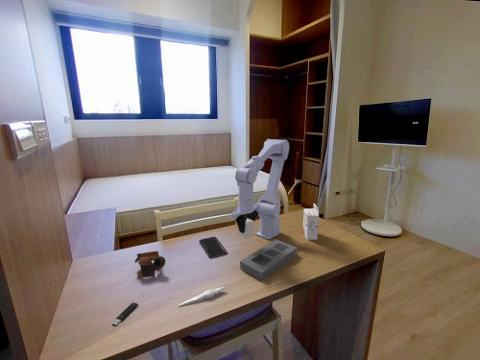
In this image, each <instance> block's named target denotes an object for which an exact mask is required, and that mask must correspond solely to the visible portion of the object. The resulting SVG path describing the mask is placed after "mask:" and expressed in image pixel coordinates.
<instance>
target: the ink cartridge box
mask: <svg viewBox="0 0 480 360" xmlns="http://www.w3.org/2000/svg"><path fill="white" fill-rule="evenodd" d="M319 211H320V210H319V208H318V206H317V205H316V203H314V202H313V208H303V219H302V220H303V221H302V233H303V234H304V237H305V239H306V241H313V240H314V241H318V237H319V236H318V235H319V219H320V215H319V214H320V212H319Z"/></svg>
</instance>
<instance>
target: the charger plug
mask: <svg viewBox="0 0 480 360" xmlns="http://www.w3.org/2000/svg"><path fill="white" fill-rule="evenodd" d="M246 218H247V217H246ZM237 228H238V227H237ZM237 231H238V232H237V233H238V236H241V237H243V238H245V239H249V238H250V237H251V236H254V235H255V222H254V221H253V220H251V219H248V218H247V220H246V224H245V232H244V233H241V232H240V231H239V228H238V230H237Z"/></svg>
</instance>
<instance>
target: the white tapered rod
mask: <svg viewBox="0 0 480 360" xmlns="http://www.w3.org/2000/svg"><path fill="white" fill-rule="evenodd" d="M225 289H226V287H225V286H222V287H221V286H220V287H216V288H211V289H210V288H209V289H207V290H205V291H203V292H202V293H201V294H197V295H196V296H194V297H192V298H190V299H187V300H186V301H184V302H182V303H180V304H178V305H177V307H178V308H179V307H181V306H186V305H190V304H192V303H197V302H201V301H203V300H205V299H206V300H207V299H212V298H214V297H215V296H217V295H219V294H221V293H224V290H225Z"/></svg>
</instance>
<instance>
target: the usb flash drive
mask: <svg viewBox="0 0 480 360" xmlns="http://www.w3.org/2000/svg"><path fill="white" fill-rule="evenodd" d="M137 307H139V304H138V303H137V302H133V301H132V303H130V304H129V305H128V307H126V308H125V309H124V310H123V311H122V312H121V313H120V314H119V315H118V316H117V317H116V319H115V320H114V321H113V322H112V324H111V325H113V326H114V327H115V326H116V327H117V326H118V325H120V323H121V322H123V321H124V320H125V319H126V318H127V317H128V316H129V315H130V314H131V313H132V312H133V311H134V310H135V309H136V308H137Z"/></svg>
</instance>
